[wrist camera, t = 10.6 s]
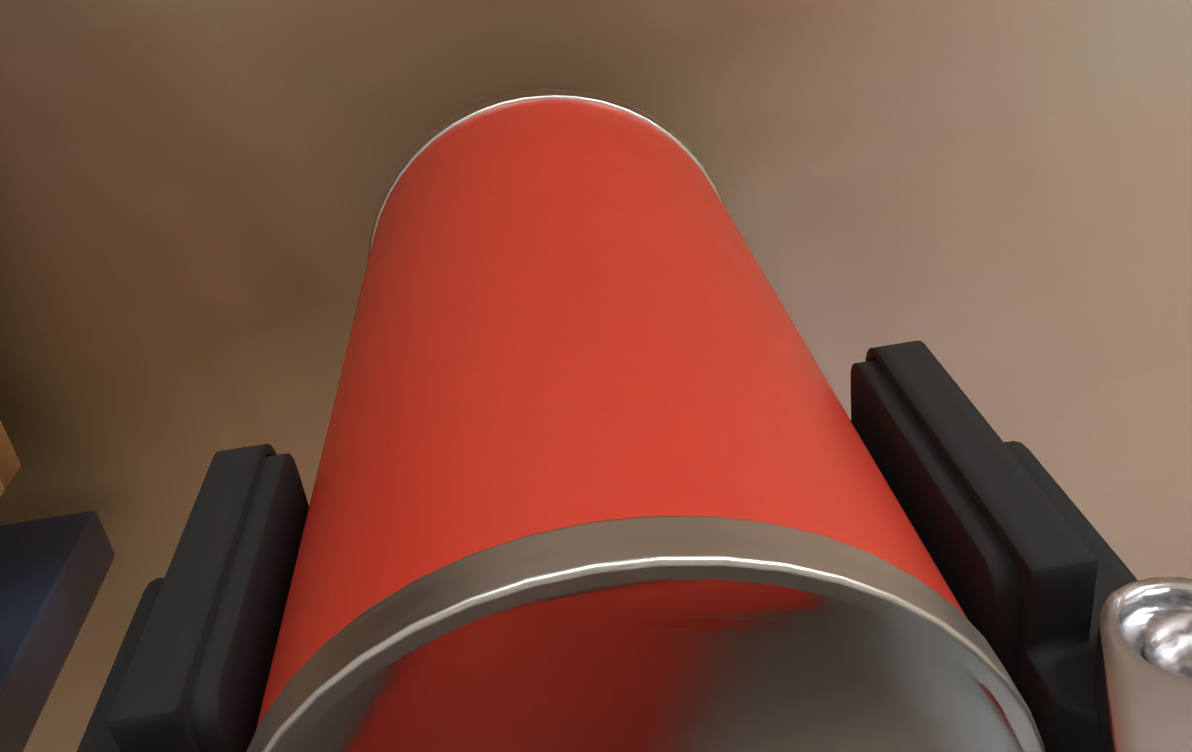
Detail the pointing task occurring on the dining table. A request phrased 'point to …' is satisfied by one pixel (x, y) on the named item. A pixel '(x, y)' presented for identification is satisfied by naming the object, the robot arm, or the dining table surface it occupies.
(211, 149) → the dining table surface
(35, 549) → the drawer
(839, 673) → the tin can
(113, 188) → the dining table surface
